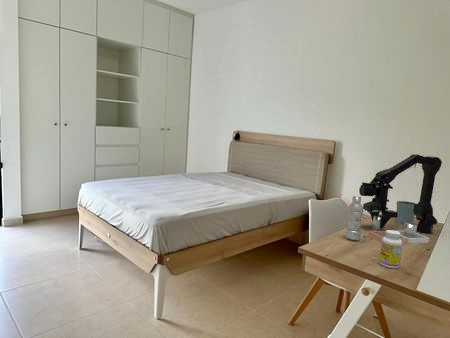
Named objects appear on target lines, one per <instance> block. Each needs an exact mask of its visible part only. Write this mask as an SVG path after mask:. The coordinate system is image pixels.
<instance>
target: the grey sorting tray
mask: <svg viewBox="0 0 450 338" xmlns="http://www.w3.org/2000/svg"><path fill="white" fill-rule="evenodd" d="M386 231H387V230H383V231H375V230H369V231H368V234H367V237H369V238H370V237H371V239H374V240H375V241H377V242H378V241H379V243H382V239H383V238H384V237H386ZM396 231H397V232H400V237H399V239H400V240H401V241H402V245H404V244H430V243H431V242H430V237H428V236H425V235H423V234H421V233H419V232H416V237H415V238H407V237H405V236H403V233H404V230H396Z"/></svg>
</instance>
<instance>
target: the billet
mask: <svg viewBox="0 0 450 338" xmlns="http://www.w3.org/2000/svg"><path fill="white" fill-rule="evenodd" d="M403 225H404V227H403V231H404V233H403V236H405V237H407V238H415V237H416V233H417V225H418V224H415V223H405V224H403Z"/></svg>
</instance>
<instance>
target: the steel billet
mask: <svg viewBox="0 0 450 338" xmlns="http://www.w3.org/2000/svg"><path fill="white" fill-rule="evenodd" d="M379 215H380V214H379ZM379 215H374V216H373V222H372V228H371V230H372V231H384V227H383V228H382V229H381V228H380V220H381V218H380V217H379Z"/></svg>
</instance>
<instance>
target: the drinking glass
mask: <svg viewBox="0 0 450 338" xmlns="http://www.w3.org/2000/svg"><path fill="white" fill-rule="evenodd" d="M414 204H417V203H416V202H413V201H407V200H396V212H397V213H398V217H397V218H395V219H396V223H398V224H400V225H405V223H413V224H415V218H416V216H415V215H414V211H413V209H414Z"/></svg>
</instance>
